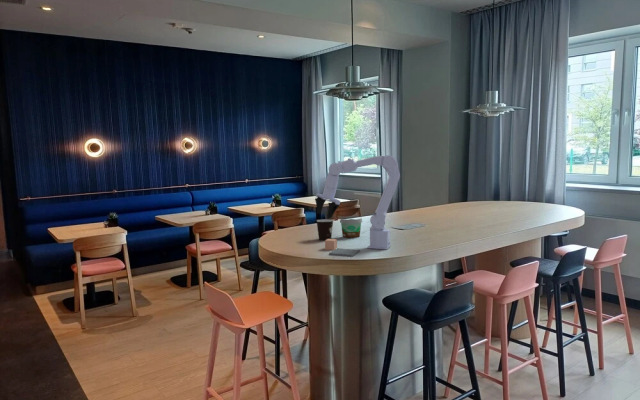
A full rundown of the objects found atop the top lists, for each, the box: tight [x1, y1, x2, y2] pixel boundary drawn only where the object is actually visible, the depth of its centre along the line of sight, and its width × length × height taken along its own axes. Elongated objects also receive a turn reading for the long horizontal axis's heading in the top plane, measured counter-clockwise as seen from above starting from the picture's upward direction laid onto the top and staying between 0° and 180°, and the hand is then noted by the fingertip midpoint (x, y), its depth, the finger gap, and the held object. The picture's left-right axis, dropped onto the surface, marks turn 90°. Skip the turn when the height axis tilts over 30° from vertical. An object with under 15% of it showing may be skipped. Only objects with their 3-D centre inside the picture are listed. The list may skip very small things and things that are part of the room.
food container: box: [339, 218, 363, 239], centre depth 250 cm, size 12×6×10 cm, turn 101°
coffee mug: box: [316, 219, 334, 242], centre depth 245 cm, size 12×9×10 cm
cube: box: [324, 238, 338, 251], centre depth 222 cm, size 4×4×4 cm
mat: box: [328, 247, 361, 257], centre depth 212 cm, size 11×11×1 cm
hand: (323, 215), depth 223 cm, fingers open, 7 cm apart
